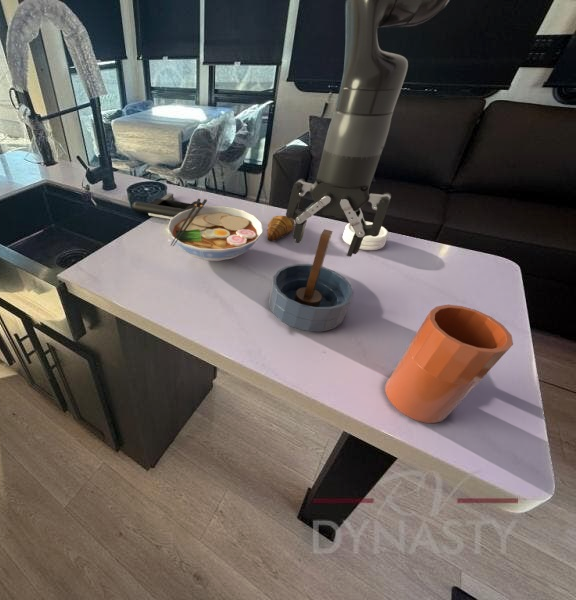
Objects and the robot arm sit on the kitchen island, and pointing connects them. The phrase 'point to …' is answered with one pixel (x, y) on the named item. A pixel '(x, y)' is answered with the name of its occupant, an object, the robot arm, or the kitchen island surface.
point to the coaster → (367, 238)
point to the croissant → (279, 227)
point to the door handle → (163, 207)
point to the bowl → (304, 316)
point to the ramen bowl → (214, 231)
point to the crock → (446, 362)
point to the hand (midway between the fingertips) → (323, 247)
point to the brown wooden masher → (314, 274)
